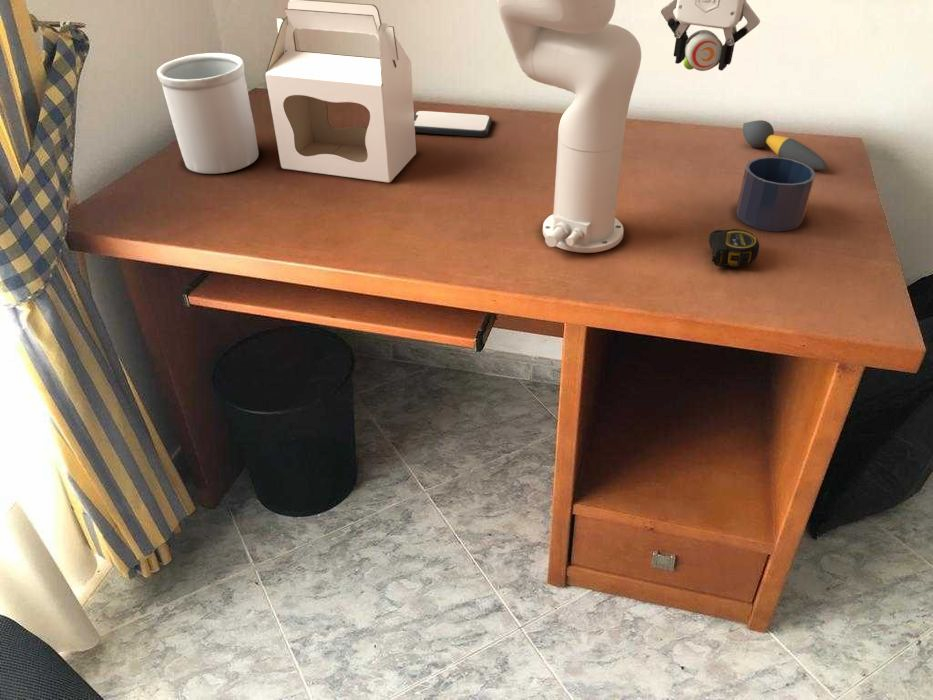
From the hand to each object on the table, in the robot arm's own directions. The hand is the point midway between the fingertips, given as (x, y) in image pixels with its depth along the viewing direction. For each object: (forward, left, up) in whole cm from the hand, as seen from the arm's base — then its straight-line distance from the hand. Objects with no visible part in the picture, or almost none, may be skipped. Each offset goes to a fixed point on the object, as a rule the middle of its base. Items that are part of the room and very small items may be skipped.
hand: (701, 63), depth 130 cm
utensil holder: (-38, +77, -19) cm, 88 cm away
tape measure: (-28, -16, -19) cm, 37 cm away
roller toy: (0, 0, -1) cm, 1 cm away
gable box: (-27, +55, -19) cm, 64 cm away
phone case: (-4, +47, -19) cm, 51 cm away
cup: (-11, -18, -19) cm, 28 cm away
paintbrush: (+14, -14, -19) cm, 27 cm away
